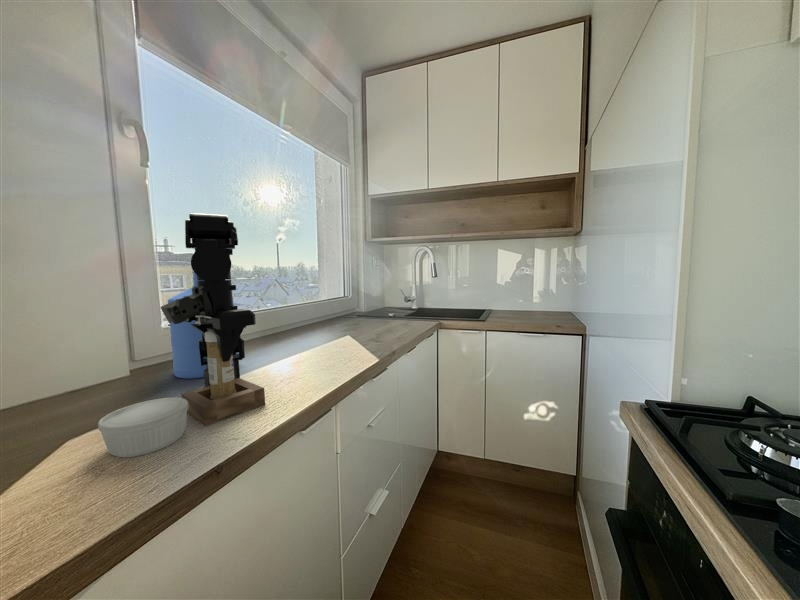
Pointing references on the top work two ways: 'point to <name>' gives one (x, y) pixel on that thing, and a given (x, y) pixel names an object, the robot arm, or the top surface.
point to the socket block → (223, 402)
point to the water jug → (186, 344)
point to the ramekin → (144, 426)
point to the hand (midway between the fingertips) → (220, 359)
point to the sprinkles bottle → (219, 369)
